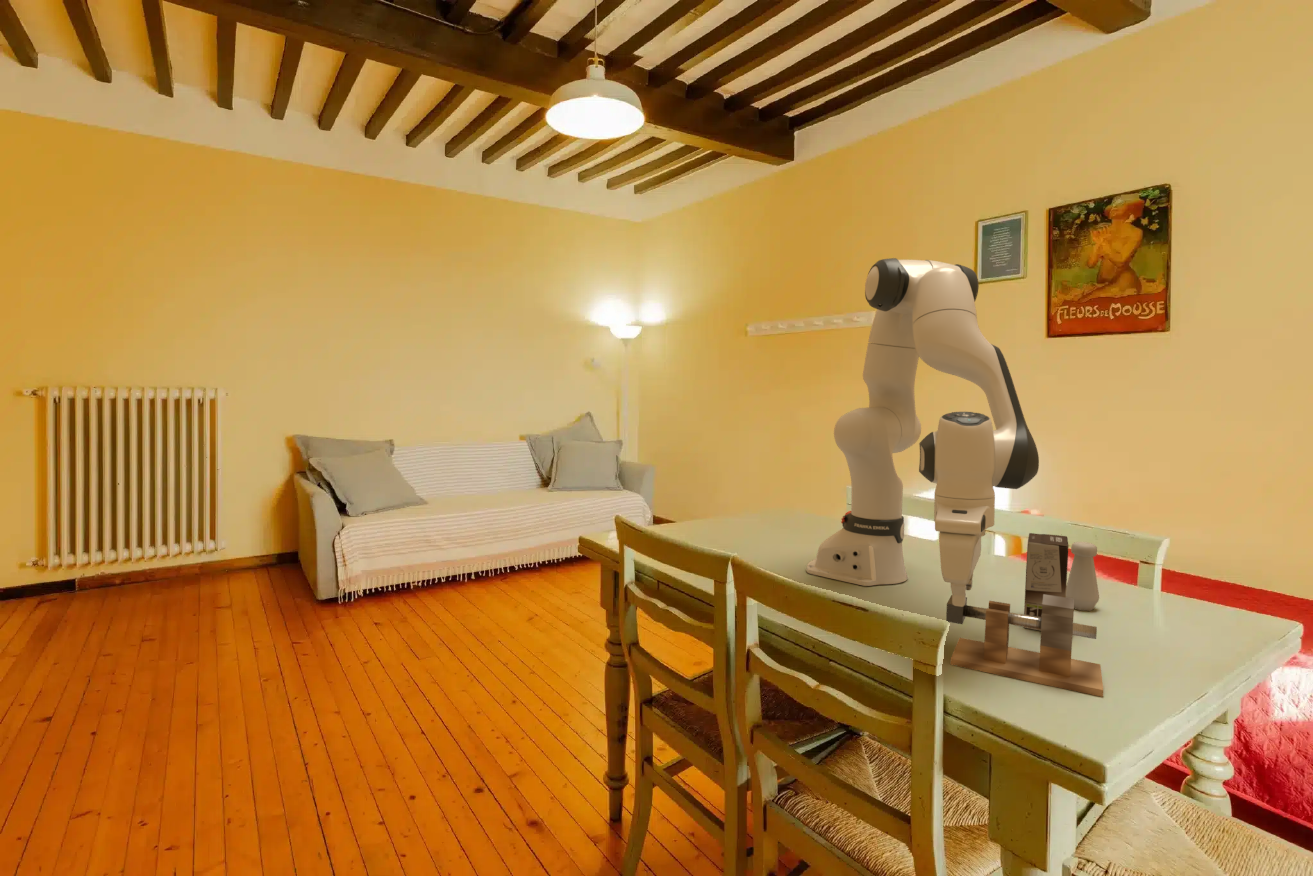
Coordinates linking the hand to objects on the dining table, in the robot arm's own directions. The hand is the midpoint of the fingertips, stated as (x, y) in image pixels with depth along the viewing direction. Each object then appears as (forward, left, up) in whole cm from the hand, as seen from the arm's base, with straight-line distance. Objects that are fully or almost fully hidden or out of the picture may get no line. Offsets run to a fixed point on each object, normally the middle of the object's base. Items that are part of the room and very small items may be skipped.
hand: (962, 596), depth 106 cm
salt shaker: (+17, +37, -10) cm, 42 cm away
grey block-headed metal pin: (+8, 0, -4) cm, 9 cm away
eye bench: (+9, 0, -10) cm, 13 cm away
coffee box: (+11, +23, -10) cm, 27 cm away
